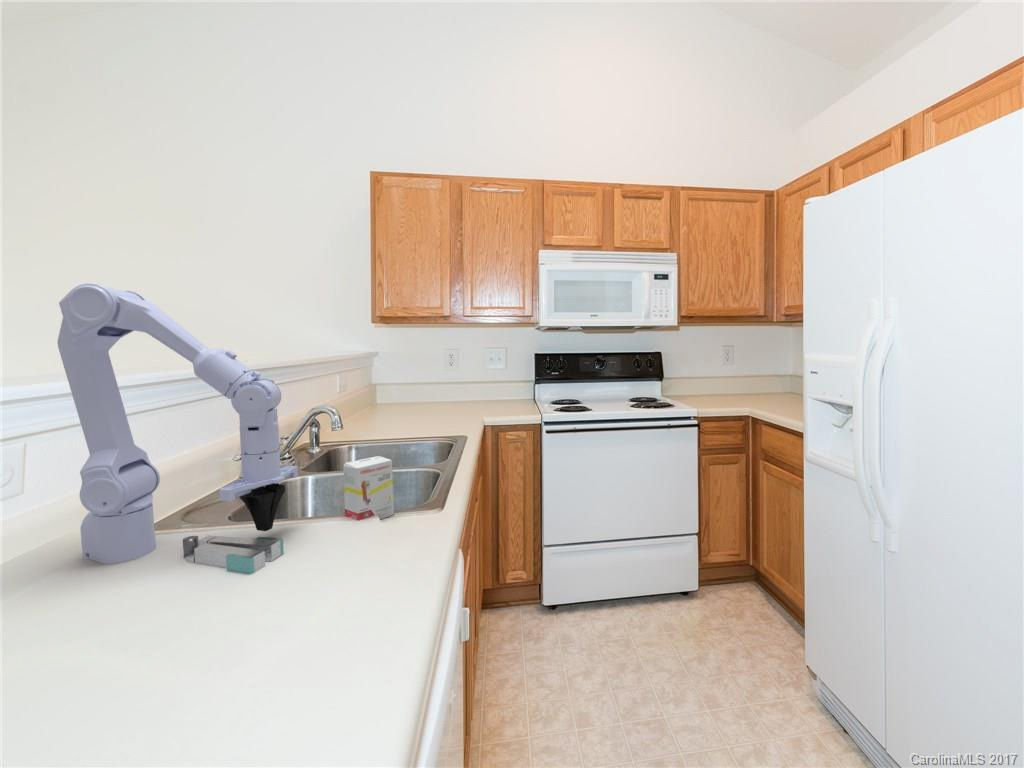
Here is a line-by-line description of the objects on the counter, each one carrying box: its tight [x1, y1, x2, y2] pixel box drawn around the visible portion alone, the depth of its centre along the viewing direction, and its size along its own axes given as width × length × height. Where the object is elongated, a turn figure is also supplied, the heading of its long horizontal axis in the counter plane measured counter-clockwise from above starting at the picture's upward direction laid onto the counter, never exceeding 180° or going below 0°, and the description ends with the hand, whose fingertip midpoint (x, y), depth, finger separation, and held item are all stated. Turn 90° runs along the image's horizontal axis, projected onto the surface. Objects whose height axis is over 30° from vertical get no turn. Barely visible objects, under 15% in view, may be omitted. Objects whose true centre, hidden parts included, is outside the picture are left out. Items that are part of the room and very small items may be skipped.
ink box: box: [343, 455, 395, 521], centre depth 90 cm, size 9×5×12 cm, turn 141°
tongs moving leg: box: [198, 534, 285, 562], centre depth 72 cm, size 13×3×2 cm, turn 80°
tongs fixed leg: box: [182, 535, 266, 575], centre depth 69 cm, size 16×4×3 cm, turn 74°
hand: (264, 529), depth 77 cm, fingers closed
